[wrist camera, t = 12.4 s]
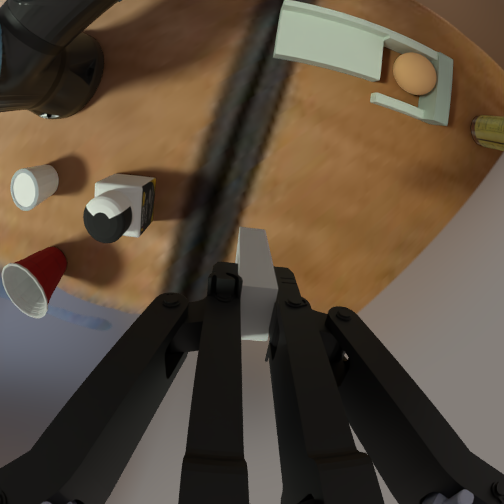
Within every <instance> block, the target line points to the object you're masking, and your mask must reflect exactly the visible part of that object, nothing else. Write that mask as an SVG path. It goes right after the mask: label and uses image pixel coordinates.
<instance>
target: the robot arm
mask: <svg viewBox="0 0 504 504" xmlns="http://www.w3.org/2000/svg"><path fill="white" fill-rule="evenodd" d="M120 1H122V0H7V1H6V2H5V3H4V4H3V5H2V6H1V8H0V112H6V111H15V110H26V109H27V110H29V111H31V112H33V113H34V114H36V115H38V116H40V117H42V118H46V119H61V118H66V117H69V116H71V115H73V114H75V113H76V112H78V111H79V110H80V109H82V108H83V107H84V106H85V105H86V104H87V103H88V101H89V100H90V99H91V98H92V96H93V95H94V93H95V91H96V90H97V88H98V85H99V83H100V80H101V77H102V73H103V68H104V57H103V52H102V49H101V47H100V45H99V43H98V42H97V41H96V40H95V39H94V38H92V37H91V36H89V35H87V34H84V33H82V31H83V30H84V29H86V28H87V27H88V26H89V25H90V24H91V23H92V22H93V21H95V20H96V19H97V18H98V17H99V16H101V15H102V14H103V13H104V12H105V11H107V10H108V9H109V8H110V7H112V6H113V5H114V4H116V3H117V2H120ZM268 334H269V337H270V341H269V345H268V349H267V354H266V358H265V361H268V358H269V364H270V373H271V382H272V391H273V400H274V409H275V418H276V427H277V436H278V445H279V455H280V464H281V473H282V483H283V492H282V497H281V504H384V500H383V497H382V493H381V490H380V486H379V483H378V479H377V476H376V472H375V469H374V466H373V464H374V465H375V467H376V469H377V470H378V472H379V473H380V475H381V477H382V478H383V480H384V481H385V483H386V485H387V487H388V488H389V490H390V492H391V493H392V495H393V496H394V497H395V499H396V500H397V502H398V503H399V504H504V474H502V473H501V472H499V471H498V470H496V469H495V468H493V467H492V466H490V465H489V464H487V463H486V462H485V461H483V460H482V459H480V458H479V457H477V456H476V455H475V454H473V453H472V452H470V451H469V449H468V448H467V447H466V445H465V444H464V443H463V441H462V440H461V439H460V438H459V437H458V435H457V434H456V432H455V431H454V430H453V429H452V427H451V426H450V425H449V423H448V422H447V421H446V420H445V419H444V417H443V416H442V415H441V414H440V412H439V411H438V410H437V409H436V407H435V406H434V405H433V403H432V402H431V401H430V400H429V399H428V397H427V396H426V395H425V394H424V392H423V391H422V390H421V389H420V388H419V387H418V385H417V384H416V383H415V382H414V380H413V379H412V378H411V377H410V376H409V374H408V373H407V372H406V371H405V370H404V368H403V367H402V366H401V365H400V364H399V362H398V361H397V360H396V359H395V358H394V357H393V355H392V354H391V353H390V352H389V351H388V350H387V349H386V347H385V346H384V345H383V344H382V343H381V341H380V340H379V339H378V338H377V337H376V336H375V335H374V333H373V332H372V331H371V330H370V329H369V328H368V327H367V325H366V324H365V323H364V322H363V321H362V320H361V319H360V317H359V316H358V315H357V314H356V313H355V312H353V311H352V310H350V309H348V308H346V307H337V306H336V307H332V308H331V309H330V310H329V312H328V314H325V313H321V312H318V311H315V310H312V309H311V306H310V304H309V302H308V301H307V300H306V299H304V298H303V297H301V295H300V292H299V289H298V286H297V283H296V280H295V277H294V274H293V272H292V271H290V270H289V269H288V268H283V267H274V266H273V262H272V258H271V253H270V249H269V245H268V240H267V236H266V231H265V230H263V229H254V228H246V227H240V229H239V237H238V245H237V253H236V261H235V263H228V262H217V263H216V264H215V265H214V266H213V271H212V274H210V276H209V277H208V291H207V297H206V298H204V299H202V300H200V301H195V302H188V300H187V298H186V297H185V296H183V295H181V294H178V293H164V294H161V295H159V296H158V297H156V298H155V299H154V300H153V302H152V303H151V304H150V305H149V306H148V307H147V308H146V309H145V311H144V312H143V313H142V314H141V315H140V316H139V317H138V318H137V320H136V321H135V322H134V323H133V324H132V325H131V327H130V328H129V329H128V330H127V331H126V332H125V333H124V335H123V336H122V337H121V338H120V339H119V340H118V342H117V343H116V344H115V345H114V346H113V347H112V349H111V350H110V351H109V352H108V353H107V354H106V356H105V357H104V358H103V359H102V360H101V362H100V363H99V364H98V365H97V367H96V368H95V369H94V370H93V371H92V372H91V374H90V375H89V376H88V377H87V378H86V380H85V381H84V382H83V383H82V385H81V386H80V387H79V388H78V390H77V391H76V392H75V393H74V394H73V396H72V397H71V398H70V399H69V401H68V402H67V403H66V404H65V406H64V407H63V408H62V410H61V411H60V412H59V413H58V415H57V416H56V417H55V418H54V420H53V421H52V423H51V424H50V425H49V426H48V427H47V429H46V430H45V432H44V433H43V434H42V435H41V437H40V438H39V440H38V441H37V442H36V443H35V445H34V446H33V447H32V449H31V450H30V451H29V452H27V453H25V454H24V455H22V456H20V457H19V458H17V459H15V460H14V461H12V462H10V463H9V464H7V465H5V466H4V467H2V468H0V504H105V502H106V500H107V499H108V497H109V496H110V494H111V492H112V490H113V489H114V487H115V484H116V483H117V481H118V480H119V478H120V476H121V474H122V472H123V470H124V468H125V467H126V465H127V463H128V461H129V460H130V458H131V456H132V454H133V452H134V450H135V449H136V447H137V445H138V443H139V441H140V440H141V438H142V436H143V434H144V432H145V431H146V429H147V427H148V425H149V423H150V422H151V420H152V418H153V416H154V414H155V412H156V411H157V409H158V407H159V405H160V403H161V402H162V400H163V398H164V396H165V395H166V393H167V391H168V389H169V387H170V386H171V384H172V382H173V380H174V378H175V377H176V375H177V373H178V371H179V369H180V368H181V366H182V364H183V362H184V361H185V359H186V357H187V354H188V352H190V351H198V350H199V352H198V358H197V365H196V372H195V380H194V387H193V395H192V402H191V410H190V419H189V427H188V435H187V444H186V452H185V456H184V458H183V463H182V471H181V481H180V491H179V492H180V493H179V503H178V504H249V490H248V471H247V463H246V461H245V459H244V446H243V412H242V411H243V409H242V364H241V339H244V340H257V341H267V339H268ZM345 352H346V354H347V355H348V357H349V358H348V360H347V359H346V358H345V356H344V354H345ZM349 424H350V426H351V427H352V429H353V431H354V432H355V434H356V435H357V437H358V439H359V440H360V442H361V444H362V445H363V447H364V449H365V450H366V452H367V454H368V455H367V454H366V453H363V452H359V451H358V450H357V449H356V446H355V443H354V439H353V436H352V433H351V429H350V426H349ZM372 462H373V463H372Z"/></svg>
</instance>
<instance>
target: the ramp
mask: <svg viewBox="0 0 504 504" xmlns="http://www.w3.org/2000/svg"><path fill="white" fill-rule="evenodd" d="M383 47H386V48H388V49H391V50H393V51H396V52H398V53H401V54H404V53H409V52H413V53H418V54H420V55H422V56H424V57H426V58H427V59H428V60H429V61H430V62H431V63H432V65H433V67H434V69H435V71H436V84H435V86H434V88H433V89H432V90H431V91H430V92H428V93H427V94H424V95H419V104H418V108H417V107H415V106H412V105H410V104H407V103H405V102H402V101H399V100H397V99H394V98H391V97H388V96H386V95H383V94H380V93H371V99H370V102H371V103H374V104H377V105H380V106H383V107H386V108H389V109H392V110H395V111H398V112H400V113H403V114H406V115H408V116H411V117H414V118H416V119H419V120H421V121H424V122H426V123H428V124H434V125H443V126H447V124H448V117H449V109H450V100H451V89H452V75H453V59H451V58H449V57H448V56H446V55H444V54H442V53H441V52H436V51H434V50H432V49H430V48H429V47H427V46H425V45H423V44H421V43H419V42H416V41H414V40H412V39H410V38H408V37H406V36H404V35H401V34H399V33H397V32H394V31H392V30H390V29H387V28H385V27H382V26H379V25H377V24H374V23H371V22H369V21H366V20H363V19H360V18H357V17H354V16H351V15H348V14H345V13H341V12H338V11H334V10H331V9H327V8H323V7H319V6H315V5H311V4H307V3H302V2H297V1H292V0H284V2H283V5H282V8H281V10H280V17H279V23H278V30H277V36H276V43H275V49H274V56H273V58H279V59H284V60H290V61H295V62H300V63H305V64H309V65H314V66H318V67H322V68H326V69H330V70H334V71H338V72H342V73H345V74H349V75H352V76H356V77H359V78H362V79H365V80H368V81H371V82H375V81H378V80H380V74H381V64H382V54H383Z"/></svg>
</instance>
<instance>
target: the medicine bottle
mask: <svg viewBox="0 0 504 504" xmlns="http://www.w3.org/2000/svg"><path fill="white" fill-rule="evenodd" d="M155 185H156V178H154V177H145V176H135V175H125V174H113V175H111V176H109V177H107V178H105V179H102V180H100V181H98V182H96V183H95V198H93V199H92V200H91V201H89V203H88V204H87V205H86V207H85V210H84V216H83V218H84V224H85V227H86V229H87V231H88V233H89V234H90V235H91V236H92V237H93V238H94V239H95V240H97V241H99V242H102V243H112V242H115V241H117V240H118V239H119V238H120V237H121V236H122V235H125V236H131V237H140V235H141V234H142V233H143V232H144V231H145V229H146V228H147V227H148V226H149V225H150V223H151V222H152V221H153V209H154V196H155Z"/></svg>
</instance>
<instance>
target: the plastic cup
mask: <svg viewBox="0 0 504 504" xmlns="http://www.w3.org/2000/svg"><path fill="white" fill-rule="evenodd" d="M66 267H67V262H66V258H65V256H64V254H63V253H62V252H61V251H60V250H59V249H58V248H56V247H48V248H46V249H44V250H42V251H38V252H36V253H34V254H32V255H30V256H28V257H27V258H25V259H23V260H20V261H17V262H15V263H9V264H8V265H6V266H5V267H4V268H3V271H2V281H3V285H4V288H5V290H6V292H7V295H8V296H9V298H10V299H11V300H12V302H13V303H14V304H15V305H16V306H17V307H18V308H19V309H20V310H21V311H22V312H23V313H25V314H27V315H28V316H30V317H34V318H41V317H44V316H45V314H46V312H47V310H48V303H49V300H50V298H51V295H52V293H53V291H54V290H55V288H56V286H57V285H58V283H59V281H60V279H61V277H62V275H63V274H64V272H65V270H66Z"/></svg>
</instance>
